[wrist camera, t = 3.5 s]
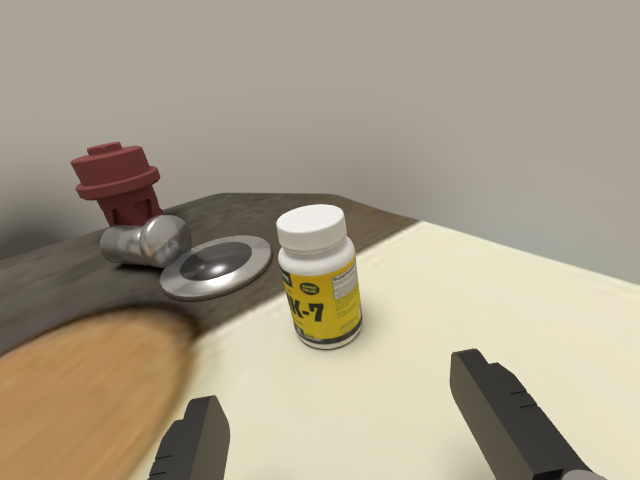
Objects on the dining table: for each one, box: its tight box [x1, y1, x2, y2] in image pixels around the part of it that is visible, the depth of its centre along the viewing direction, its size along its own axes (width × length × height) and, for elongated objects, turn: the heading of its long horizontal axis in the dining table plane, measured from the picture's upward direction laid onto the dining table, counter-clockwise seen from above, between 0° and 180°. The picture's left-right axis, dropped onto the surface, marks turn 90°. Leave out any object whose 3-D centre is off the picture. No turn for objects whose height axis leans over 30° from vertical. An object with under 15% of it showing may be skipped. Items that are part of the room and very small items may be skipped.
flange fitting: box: [100, 215, 272, 301], centre depth 32 cm, size 19×11×6 cm, turn 70°
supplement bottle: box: [277, 205, 362, 349], centre depth 20 cm, size 5×5×8 cm
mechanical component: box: [71, 142, 163, 227], centre depth 43 cm, size 12×10×10 cm
